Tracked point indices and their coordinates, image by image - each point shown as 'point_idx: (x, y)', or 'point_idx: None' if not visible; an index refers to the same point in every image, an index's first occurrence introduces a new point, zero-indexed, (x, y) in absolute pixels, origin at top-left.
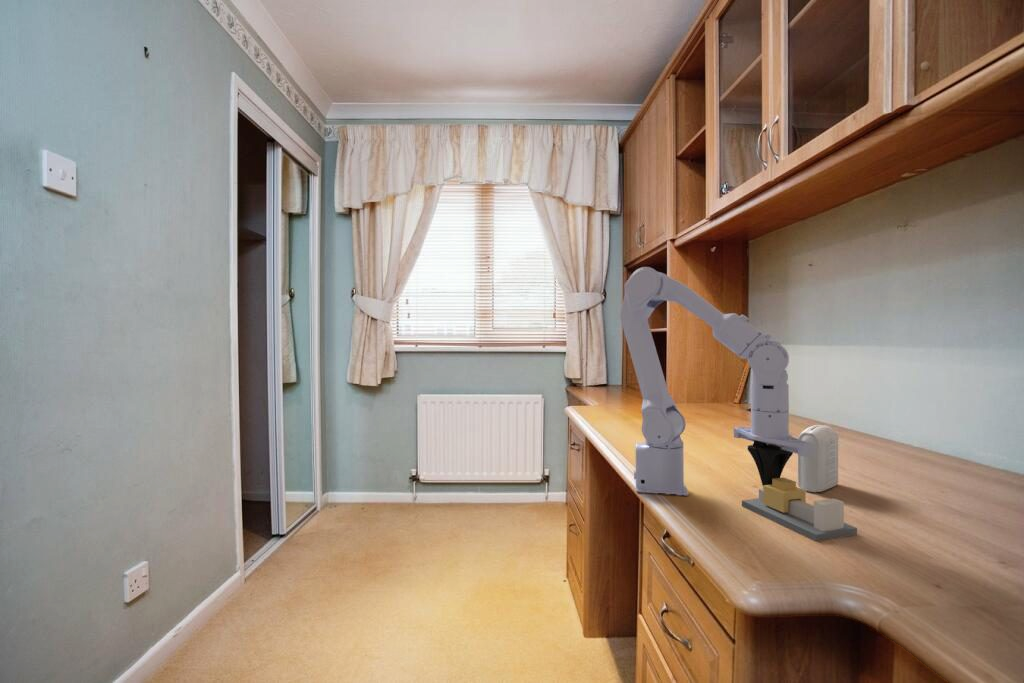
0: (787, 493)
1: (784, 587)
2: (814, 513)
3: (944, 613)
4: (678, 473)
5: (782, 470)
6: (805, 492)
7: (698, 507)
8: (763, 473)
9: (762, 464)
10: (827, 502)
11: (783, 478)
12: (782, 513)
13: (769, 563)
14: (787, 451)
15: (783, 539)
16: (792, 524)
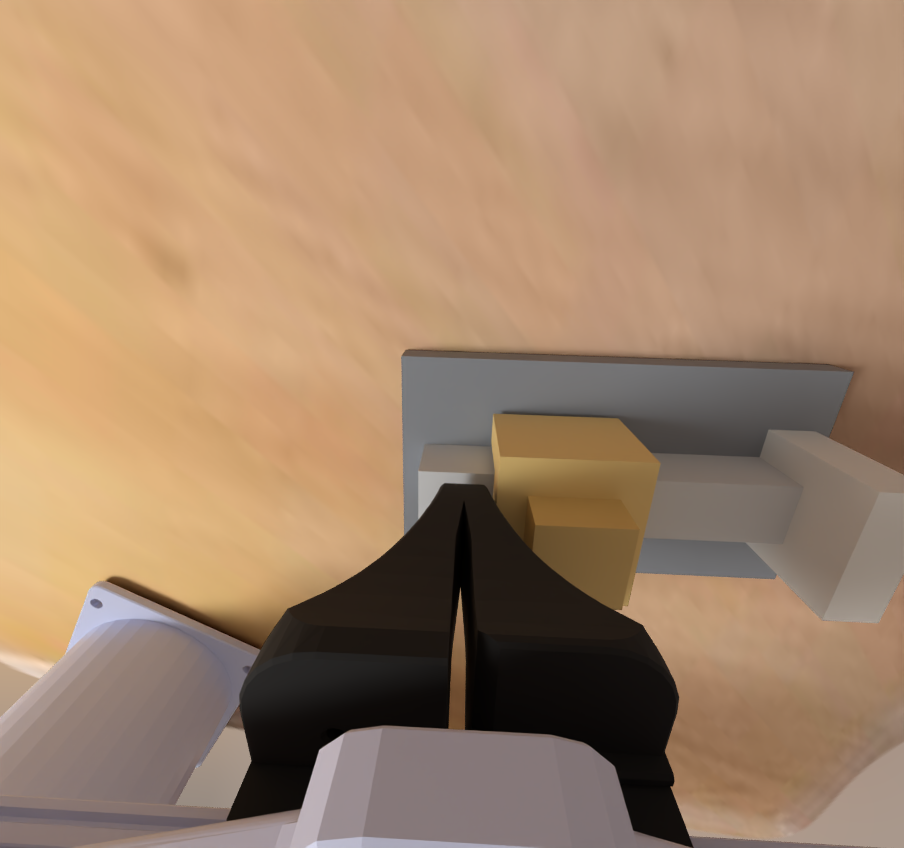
0: (632, 582)
1: (829, 795)
2: (778, 572)
3: None
4: (179, 750)
5: (520, 538)
6: (656, 459)
7: None
8: (455, 614)
9: (465, 695)
10: (880, 579)
11: (551, 541)
12: None
13: (749, 753)
14: (661, 751)
15: (686, 632)
16: (668, 571)
